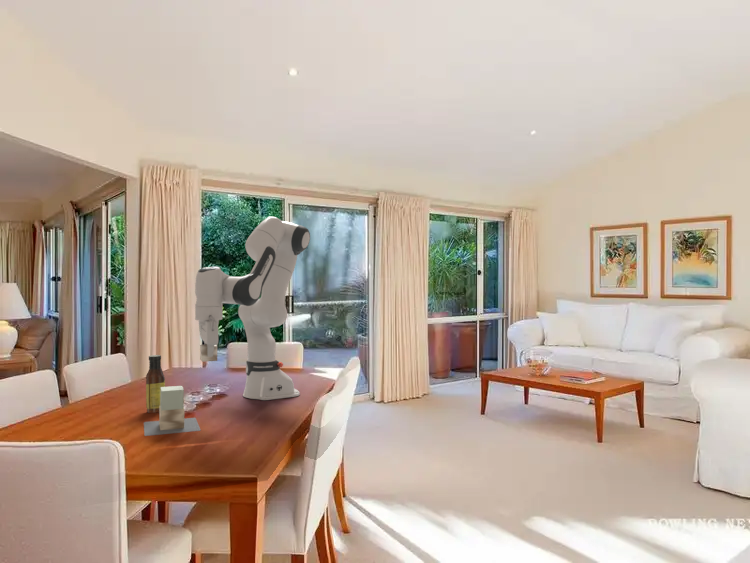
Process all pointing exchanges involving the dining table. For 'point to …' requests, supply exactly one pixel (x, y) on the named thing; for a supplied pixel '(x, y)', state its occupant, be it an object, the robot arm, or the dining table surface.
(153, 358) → the sauce bottle
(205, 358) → the cream cube
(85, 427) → the dining table surface
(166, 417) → the birch block
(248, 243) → the robot arm
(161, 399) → the sage block
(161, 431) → the slate mat
